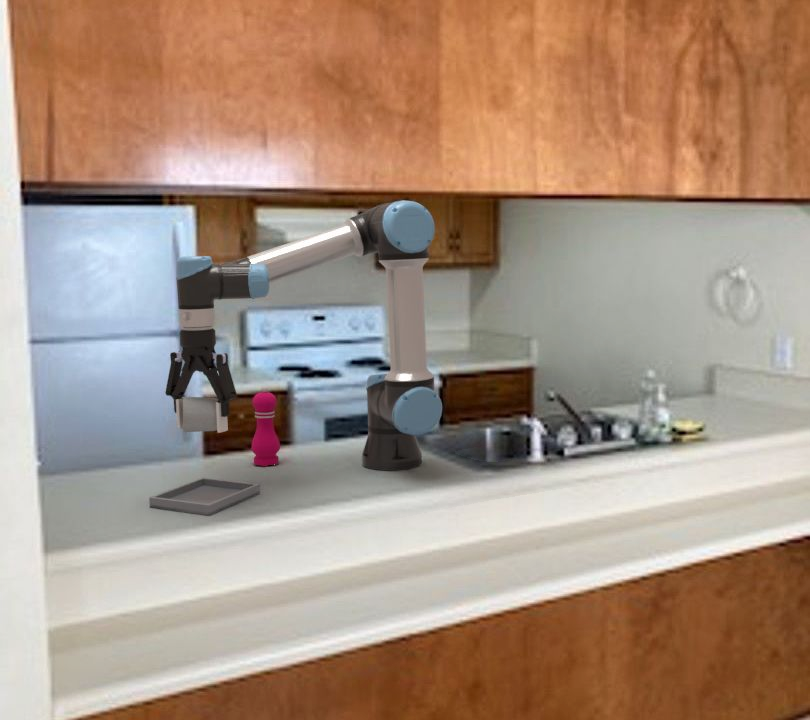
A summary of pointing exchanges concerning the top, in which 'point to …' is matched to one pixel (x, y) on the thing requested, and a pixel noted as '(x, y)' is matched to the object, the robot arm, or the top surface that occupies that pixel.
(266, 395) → the pepper mill
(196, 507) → the grey tray
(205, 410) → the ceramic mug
